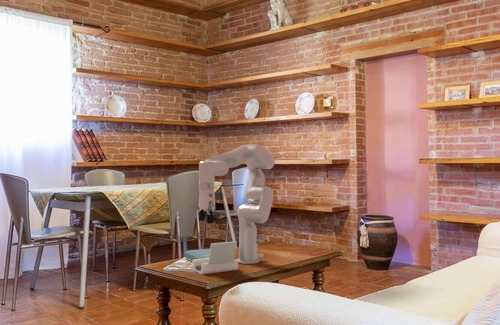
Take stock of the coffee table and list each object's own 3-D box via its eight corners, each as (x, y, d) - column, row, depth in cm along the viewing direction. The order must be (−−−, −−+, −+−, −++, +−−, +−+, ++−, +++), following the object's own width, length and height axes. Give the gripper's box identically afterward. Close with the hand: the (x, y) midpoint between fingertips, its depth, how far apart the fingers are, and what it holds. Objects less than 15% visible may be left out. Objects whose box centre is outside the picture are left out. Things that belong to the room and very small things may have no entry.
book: (229, 265, 254) (229, 255, 254) (201, 268, 246) (201, 258, 246) (211, 257, 274) (211, 248, 274) (185, 259, 266) (185, 250, 266)
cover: (236, 241, 238) (237, 242, 237) (233, 260, 240) (233, 261, 239) (210, 243, 230) (211, 244, 230) (208, 263, 233) (208, 264, 232)
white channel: (227, 265, 251) (227, 255, 251) (237, 269, 242) (238, 260, 242) (192, 269, 241) (192, 259, 241) (202, 274, 231) (202, 264, 231)
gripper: (221, 187, 226) (220, 223, 226) (206, 185, 241) (205, 219, 241) (206, 187, 222) (206, 224, 222) (192, 185, 237) (191, 219, 237)
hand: (206, 221), depth 232 cm, fingers open, 9 cm apart
